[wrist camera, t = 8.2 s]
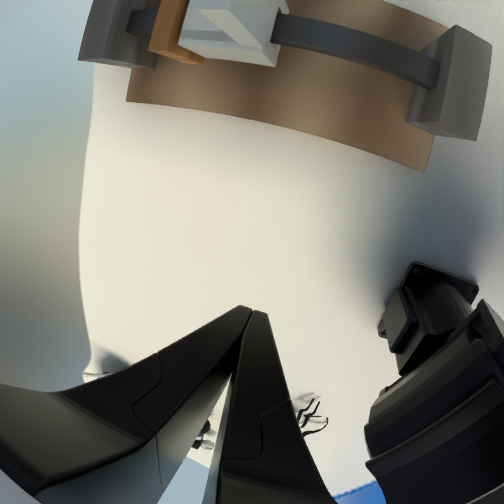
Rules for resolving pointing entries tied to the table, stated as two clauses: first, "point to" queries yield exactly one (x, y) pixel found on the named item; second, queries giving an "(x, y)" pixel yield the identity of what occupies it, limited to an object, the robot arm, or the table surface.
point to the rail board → (311, 72)
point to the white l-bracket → (232, 29)
